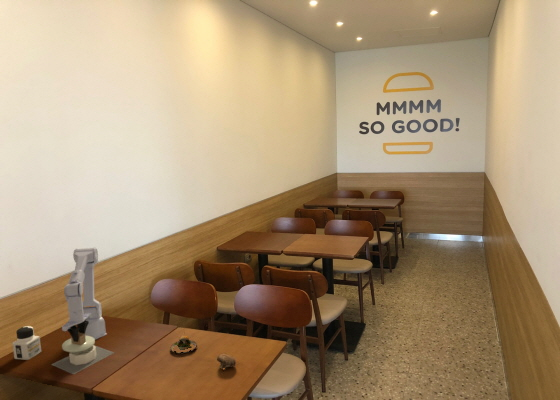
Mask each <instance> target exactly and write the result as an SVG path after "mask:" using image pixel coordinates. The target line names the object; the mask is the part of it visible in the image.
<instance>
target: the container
mask: <svg viewBox="0 0 560 400" xmlns="http://www.w3.org/2000/svg"><path fill="white" fill-rule="evenodd" d="M16 339H17V340H15V341H13V342H12V350H13V356H14V357H13V358H14V359H15V360H22V361H23V360H25V361H28V360H31V359H32V358H34V357H35V356H37V355H39V354H40V353H42V346H41V336H40V335H35V333H34V327H33V326H31V325H26V326H22V327H19V328H18V329H17V330H16Z"/></svg>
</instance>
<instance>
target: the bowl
mask: <svg viewBox="0 0 560 400" xmlns="http://www.w3.org/2000/svg"><path fill="white" fill-rule="evenodd" d="M94 345H95V344H94ZM94 345H93V346H92V347H90V348H88V349H86V350H83V351H79V352H68V353H69V354H68V356H69V357H70V363H72V364H75V365H80V364H86V363H88V362H90V361H92V360H94V359H95V357H96V355H97V354H96V346H97V345H95V346H94Z"/></svg>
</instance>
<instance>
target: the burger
mask: <svg viewBox="0 0 560 400" xmlns="http://www.w3.org/2000/svg"><path fill="white" fill-rule="evenodd" d="M191 344H193V345H194V346H195V348H194V349H192V350H191V351H195V349H196V347H197V348H198V345H197V342H195V340H190V338H189V336H187V335H185V331H184V335H182V336H181V337H179V340H178V341H175V342H174V343H173V344H172V345H171V346H170V350H169V351H170V352H173V353H175V352H174V351H173V348H174V346H176V345H177V346H178V348H179V349H180V350H185V349H188V348H192V346H190V345H191ZM196 350H197V349H196ZM191 351H190V352H191ZM176 353H177V354H179V353H178V352H176ZM186 353H189V351H188V352H183V353H182V354H186Z"/></svg>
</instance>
